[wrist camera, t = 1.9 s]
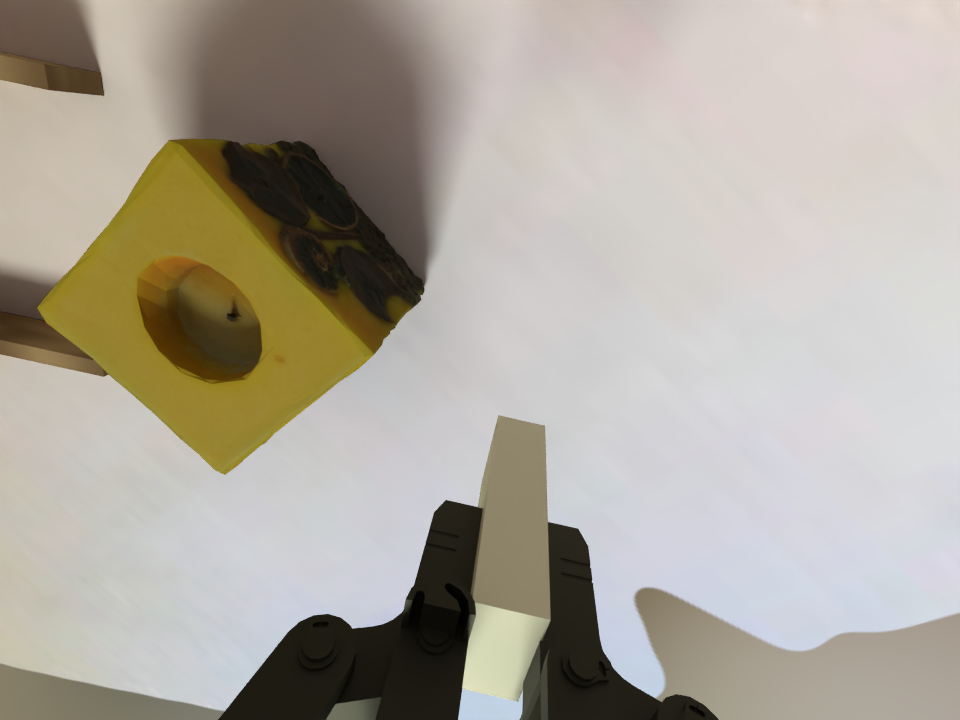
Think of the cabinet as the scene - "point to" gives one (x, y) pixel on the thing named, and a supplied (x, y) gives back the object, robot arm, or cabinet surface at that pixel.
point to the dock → (22, 332)
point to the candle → (233, 291)
